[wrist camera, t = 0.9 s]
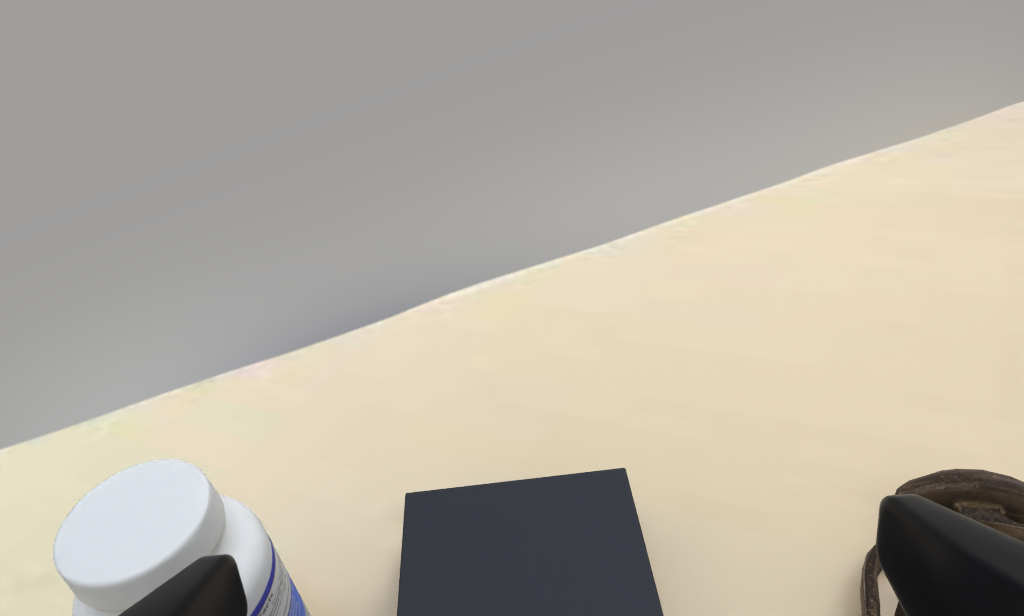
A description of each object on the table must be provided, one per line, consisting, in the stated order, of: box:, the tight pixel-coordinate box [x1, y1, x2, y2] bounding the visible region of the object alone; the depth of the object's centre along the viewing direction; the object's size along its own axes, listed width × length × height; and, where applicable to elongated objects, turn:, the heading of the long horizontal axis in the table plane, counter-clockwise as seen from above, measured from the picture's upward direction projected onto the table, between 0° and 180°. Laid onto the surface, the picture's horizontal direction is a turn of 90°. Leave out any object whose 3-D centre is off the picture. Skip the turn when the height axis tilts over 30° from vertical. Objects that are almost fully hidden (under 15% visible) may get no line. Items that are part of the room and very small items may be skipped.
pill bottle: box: [53, 459, 311, 616], centre depth 20 cm, size 6×5×10 cm
